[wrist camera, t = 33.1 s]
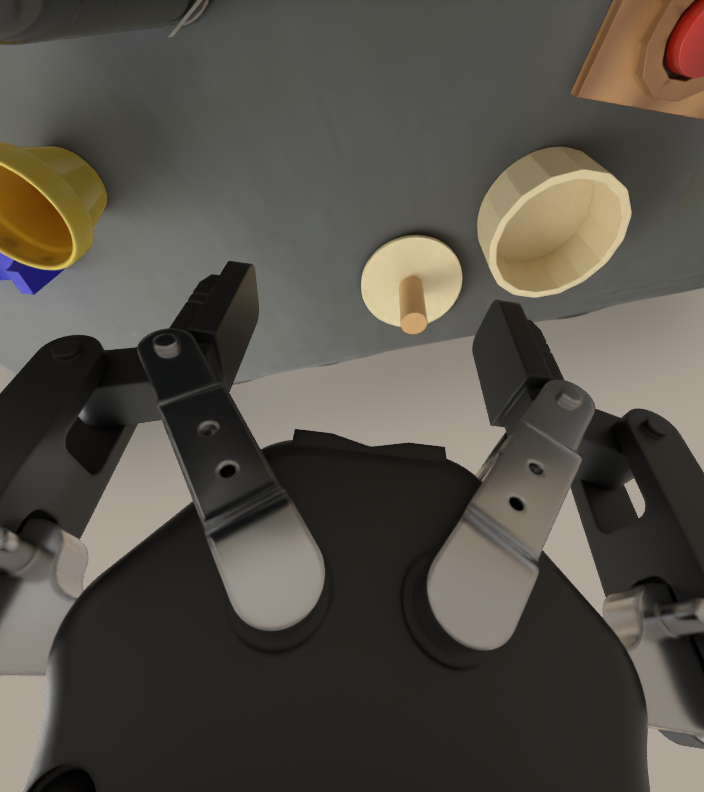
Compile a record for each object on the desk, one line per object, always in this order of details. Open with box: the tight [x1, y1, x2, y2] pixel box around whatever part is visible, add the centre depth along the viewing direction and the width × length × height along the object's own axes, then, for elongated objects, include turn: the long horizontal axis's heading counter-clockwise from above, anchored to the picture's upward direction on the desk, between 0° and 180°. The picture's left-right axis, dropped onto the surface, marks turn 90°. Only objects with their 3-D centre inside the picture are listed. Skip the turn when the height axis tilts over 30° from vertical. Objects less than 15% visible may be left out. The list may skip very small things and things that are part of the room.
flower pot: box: [0, 142, 107, 270], centre depth 34 cm, size 10×10×10 cm
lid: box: [361, 235, 462, 334], centre depth 41 cm, size 13×13×9 cm
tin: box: [477, 147, 632, 297], centre depth 34 cm, size 12×12×7 cm
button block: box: [571, 0, 704, 119], centre depth 25 cm, size 12×9×4 cm
